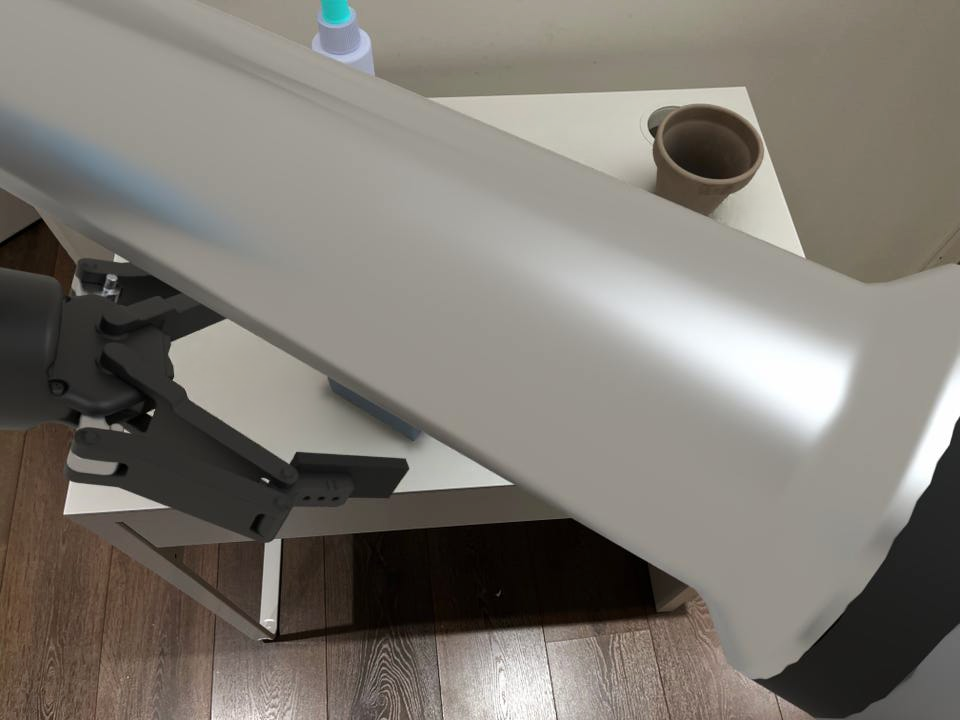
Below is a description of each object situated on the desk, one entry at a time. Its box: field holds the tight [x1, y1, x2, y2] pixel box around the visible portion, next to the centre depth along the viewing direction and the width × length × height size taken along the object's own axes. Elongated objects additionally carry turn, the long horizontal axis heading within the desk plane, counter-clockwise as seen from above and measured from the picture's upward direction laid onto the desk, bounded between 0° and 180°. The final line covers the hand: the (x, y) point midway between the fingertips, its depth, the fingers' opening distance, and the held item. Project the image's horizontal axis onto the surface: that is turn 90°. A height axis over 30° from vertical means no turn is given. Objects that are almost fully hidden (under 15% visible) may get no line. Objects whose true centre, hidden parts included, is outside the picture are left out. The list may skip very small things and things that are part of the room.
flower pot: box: [652, 103, 765, 217], centre depth 78 cm, size 12×11×10 cm
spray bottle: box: [311, 0, 376, 76], centre depth 75 cm, size 6×6×22 cm
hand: (368, 392), depth 44 cm, fingers open, 13 cm apart
